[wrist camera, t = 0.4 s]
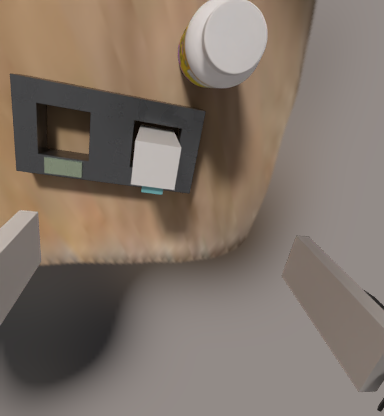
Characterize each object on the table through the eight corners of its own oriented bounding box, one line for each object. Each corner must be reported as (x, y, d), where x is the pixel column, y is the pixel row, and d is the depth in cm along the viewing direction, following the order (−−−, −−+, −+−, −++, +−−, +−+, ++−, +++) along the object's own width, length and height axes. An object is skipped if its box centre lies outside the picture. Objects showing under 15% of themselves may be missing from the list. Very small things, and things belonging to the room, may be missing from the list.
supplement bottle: (198, 6, 29) (229, -49, 17) (245, 47, 31) (300, 23, 19) (165, 64, 31) (172, 51, 19) (212, 99, 33) (244, 106, 21)
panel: (23, 74, 29) (8, 73, 26) (201, 109, 33) (205, 111, 30) (27, 163, 33) (15, 171, 30) (186, 185, 37) (189, 194, 34)
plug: (141, 124, 33) (135, 140, 23) (173, 129, 34) (181, 147, 24) (136, 162, 35) (130, 192, 25) (167, 166, 35) (172, 197, 25)
